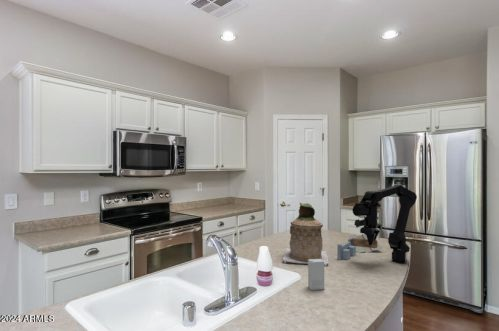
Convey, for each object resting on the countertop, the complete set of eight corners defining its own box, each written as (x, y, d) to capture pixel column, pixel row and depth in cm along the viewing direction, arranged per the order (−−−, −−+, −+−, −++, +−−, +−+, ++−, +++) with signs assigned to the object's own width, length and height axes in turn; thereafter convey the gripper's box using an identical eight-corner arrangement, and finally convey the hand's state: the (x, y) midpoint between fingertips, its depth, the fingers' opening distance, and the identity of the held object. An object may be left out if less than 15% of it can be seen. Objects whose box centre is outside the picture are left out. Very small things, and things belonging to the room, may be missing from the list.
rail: (377, 246, 159) (377, 240, 159) (375, 248, 156) (375, 241, 156) (353, 244, 167) (352, 238, 167) (350, 245, 164) (350, 239, 165)
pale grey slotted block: (380, 256, 188) (370, 236, 199) (383, 248, 182) (372, 228, 193) (354, 260, 188) (346, 240, 199) (356, 253, 182) (347, 232, 193)
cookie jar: (329, 267, 156) (329, 205, 156) (282, 263, 161) (282, 204, 161) (326, 253, 180) (326, 200, 180) (285, 250, 185) (285, 199, 185)
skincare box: (321, 285, 131) (321, 258, 131) (324, 290, 127) (324, 261, 127) (307, 286, 131) (307, 258, 131) (310, 290, 126) (310, 261, 126)
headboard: (357, 253, 180) (357, 239, 180) (345, 261, 165) (345, 245, 165) (348, 252, 183) (348, 237, 183) (336, 259, 169) (336, 243, 169)
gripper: (362, 211, 172) (362, 238, 172) (350, 215, 157) (350, 245, 157) (382, 213, 165) (382, 242, 165) (372, 218, 150) (371, 249, 150)
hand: (371, 244), depth 159 cm, fingers closed on rail, 3 cm apart
